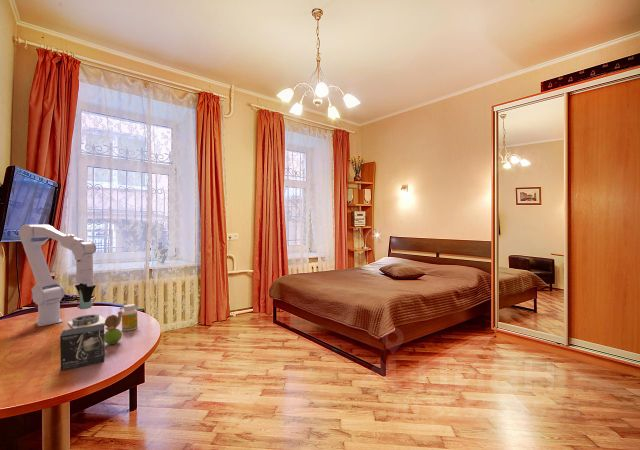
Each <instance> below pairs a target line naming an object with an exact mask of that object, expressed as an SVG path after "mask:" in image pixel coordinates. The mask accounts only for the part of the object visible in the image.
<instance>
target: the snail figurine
mask: <svg viewBox="0 0 640 450" xmlns="http://www.w3.org/2000/svg"><path fill="white" fill-rule="evenodd" d="M123 310H124V307H119V311H118V312H117V315H116V314H110V315H108V316H107V317H106V320H105V325H104V326H105V330H107V331H105V332H104V341H105V343H106V344H107V345H114V344H117V343H119V342H120V340H121V338H122V336H123V335H122V331H121V330H120V329H119V328H117V327H118V326H119V325H120V324H121V322H122V312H123Z"/></svg>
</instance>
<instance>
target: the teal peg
mask: <svg viewBox="0 0 640 450" xmlns="http://www.w3.org/2000/svg"><path fill="white" fill-rule="evenodd" d="M79 295H80V297H79V305H77V309H79V310H88V309H91V308H92V307H93V306H94V303H93V302H92V300H91V301H90V302H85V303H84V301H83V296H82V293H81V290H79V293H78V296H79Z"/></svg>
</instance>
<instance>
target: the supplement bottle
mask: <svg viewBox="0 0 640 450" xmlns="http://www.w3.org/2000/svg"><path fill="white" fill-rule="evenodd" d="M137 328H138V310H137V309H136V304H135V303H128V304H124V305H123V310H122V317H121V330H122V331H123V332H128V331H134V330H136V329H137Z"/></svg>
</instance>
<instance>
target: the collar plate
mask: <svg viewBox="0 0 640 450" xmlns="http://www.w3.org/2000/svg"><path fill="white" fill-rule="evenodd" d="M106 318H107V317H106ZM106 318H105V317H104V316H103V315H99V314H93V313H92V314H85V315H81V316H77V317H74V318H73V319H72V320H70V321H67V325H69V327H71V329H75V328H81V327H88V326H95V325H101V324H104V326H106V325H105V320H106Z"/></svg>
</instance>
